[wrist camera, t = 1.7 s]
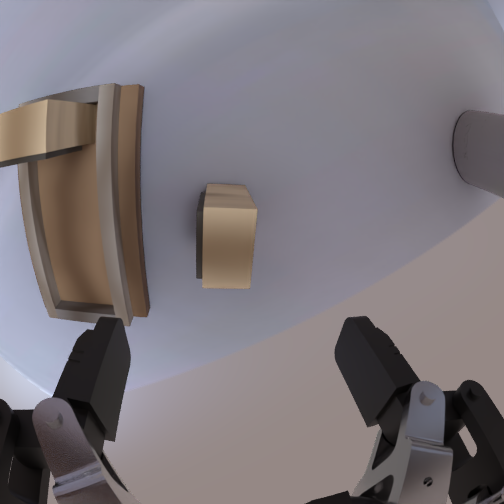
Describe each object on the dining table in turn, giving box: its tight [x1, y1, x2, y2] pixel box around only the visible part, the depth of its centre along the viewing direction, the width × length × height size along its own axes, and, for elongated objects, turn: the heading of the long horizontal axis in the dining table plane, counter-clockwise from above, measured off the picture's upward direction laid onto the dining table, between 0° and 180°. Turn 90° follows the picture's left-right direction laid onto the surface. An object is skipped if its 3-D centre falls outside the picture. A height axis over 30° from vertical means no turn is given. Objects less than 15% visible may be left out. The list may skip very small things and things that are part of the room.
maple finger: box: [196, 184, 258, 289], centre depth 19 cm, size 5×3×7 cm, turn 175°
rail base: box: [0, 83, 150, 326], centre depth 16 cm, size 12×20×8 cm, turn 175°
